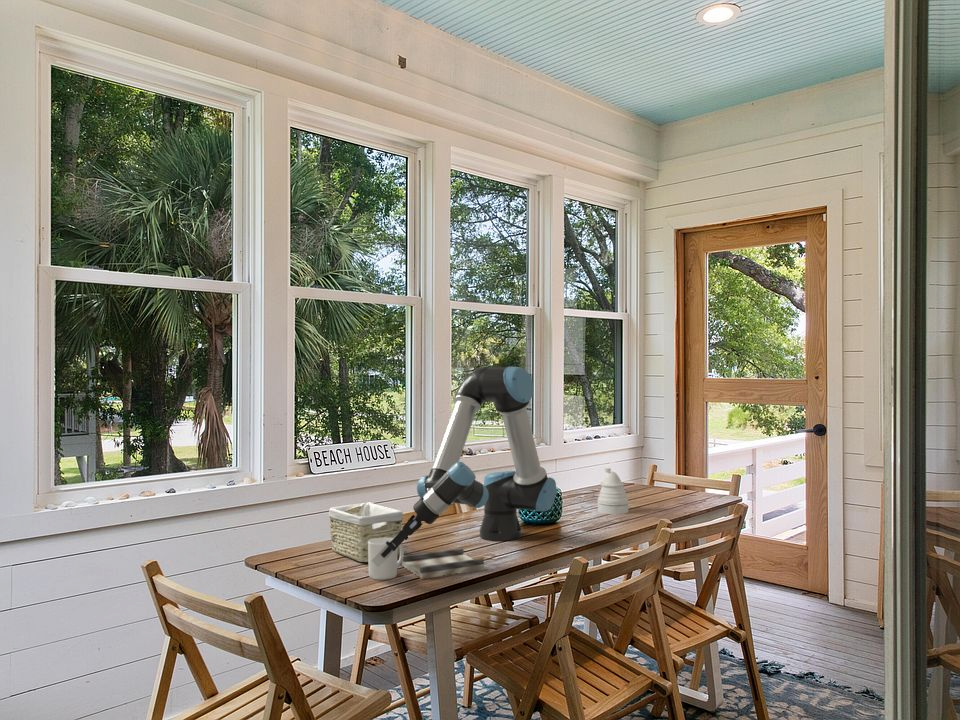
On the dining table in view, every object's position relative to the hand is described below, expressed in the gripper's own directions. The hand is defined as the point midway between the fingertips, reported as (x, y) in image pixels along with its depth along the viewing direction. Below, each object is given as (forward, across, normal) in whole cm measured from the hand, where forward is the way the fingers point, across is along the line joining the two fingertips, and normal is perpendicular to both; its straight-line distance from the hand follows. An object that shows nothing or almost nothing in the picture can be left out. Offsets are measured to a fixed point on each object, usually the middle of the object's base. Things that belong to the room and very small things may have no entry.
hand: (380, 557), depth 203 cm
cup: (+2, 0, +5) cm, 6 cm away
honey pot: (-51, -100, +58) cm, 126 cm away
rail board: (-9, -8, +16) cm, 20 cm away
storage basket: (+11, -24, -4) cm, 27 cm away
